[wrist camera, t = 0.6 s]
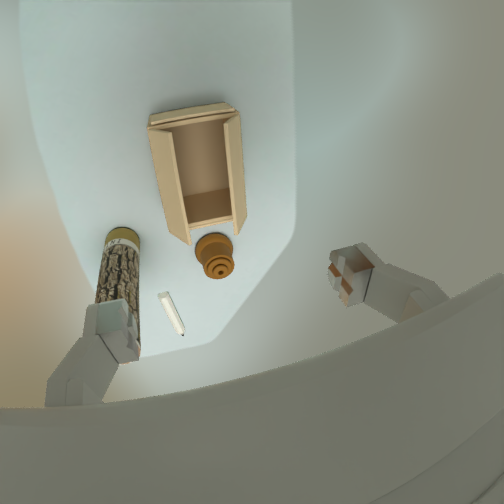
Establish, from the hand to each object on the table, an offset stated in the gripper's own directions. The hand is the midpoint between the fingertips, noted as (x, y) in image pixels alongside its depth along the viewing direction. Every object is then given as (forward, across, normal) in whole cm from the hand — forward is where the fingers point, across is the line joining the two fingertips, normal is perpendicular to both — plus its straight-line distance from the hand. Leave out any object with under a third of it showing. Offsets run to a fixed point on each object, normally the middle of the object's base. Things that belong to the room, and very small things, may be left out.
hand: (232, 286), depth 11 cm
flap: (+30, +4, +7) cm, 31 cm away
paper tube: (+41, +14, +21) cm, 48 cm away
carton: (+40, -2, +7) cm, 41 cm away
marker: (+42, +9, +44) cm, 61 cm away
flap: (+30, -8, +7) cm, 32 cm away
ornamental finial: (+41, -3, +27) cm, 49 cm away
